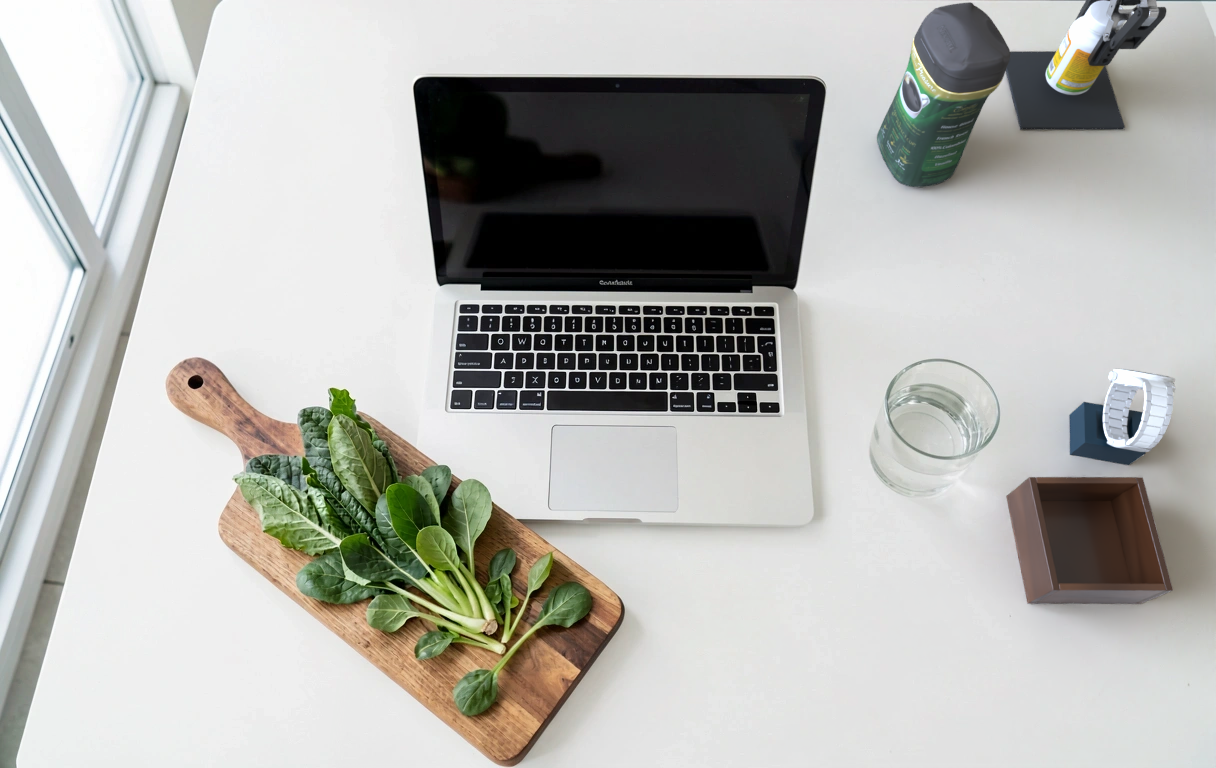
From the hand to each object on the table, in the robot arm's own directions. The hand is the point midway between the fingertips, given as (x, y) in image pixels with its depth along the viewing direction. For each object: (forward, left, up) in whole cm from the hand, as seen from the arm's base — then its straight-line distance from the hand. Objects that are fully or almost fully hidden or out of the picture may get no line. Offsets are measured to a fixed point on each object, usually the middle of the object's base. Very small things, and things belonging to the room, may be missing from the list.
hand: (1090, 43), depth 101 cm
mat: (0, 0, -7) cm, 7 cm away
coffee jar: (+19, +10, -8) cm, 23 cm away
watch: (+6, +45, -8) cm, 46 cm away
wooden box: (+11, +56, -7) cm, 58 cm away
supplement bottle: (0, 0, -6) cm, 6 cm away
